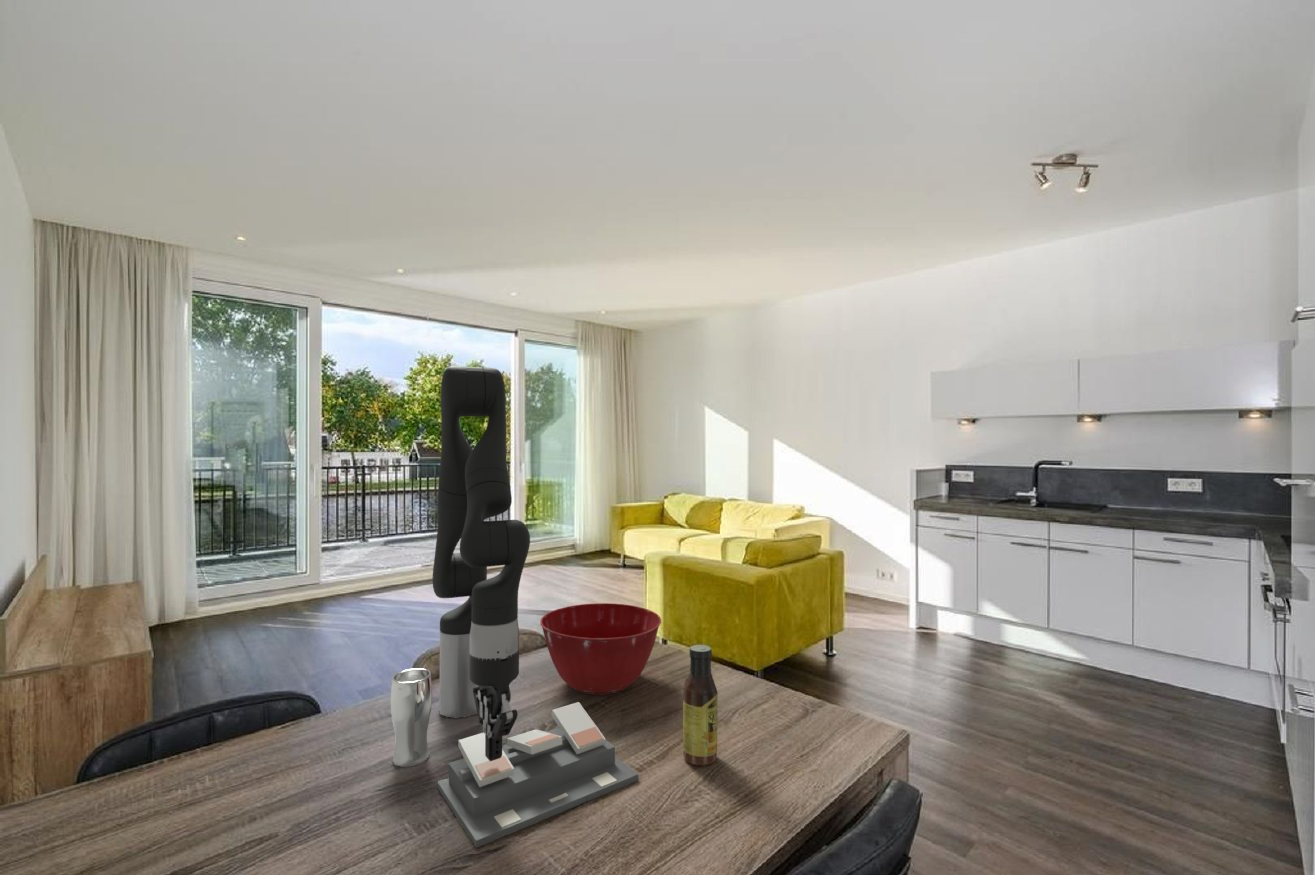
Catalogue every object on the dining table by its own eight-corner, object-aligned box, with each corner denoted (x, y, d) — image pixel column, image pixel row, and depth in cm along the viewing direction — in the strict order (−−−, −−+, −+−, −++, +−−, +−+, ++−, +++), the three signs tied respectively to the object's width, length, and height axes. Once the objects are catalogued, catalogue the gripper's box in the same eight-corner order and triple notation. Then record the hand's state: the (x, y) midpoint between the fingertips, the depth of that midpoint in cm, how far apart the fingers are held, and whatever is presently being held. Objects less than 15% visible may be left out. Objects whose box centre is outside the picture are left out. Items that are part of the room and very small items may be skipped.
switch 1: (458, 746, 98) (458, 739, 98) (490, 736, 102) (490, 729, 101) (479, 787, 90) (480, 779, 90) (513, 775, 94) (514, 768, 94)
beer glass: (440, 753, 109) (440, 671, 109) (409, 772, 103) (410, 686, 103) (412, 745, 112) (412, 665, 112) (381, 763, 105) (381, 678, 106)
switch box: (437, 787, 98) (437, 756, 98) (584, 737, 115) (584, 710, 115) (476, 848, 84) (476, 811, 84) (638, 780, 101) (638, 749, 101)
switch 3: (551, 715, 108) (552, 709, 108) (577, 707, 112) (578, 701, 111) (576, 754, 101) (578, 748, 101) (604, 744, 104) (605, 738, 104)
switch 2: (507, 746, 103) (506, 737, 103) (536, 736, 106) (536, 728, 107) (531, 754, 95) (530, 746, 96) (562, 744, 99) (561, 736, 99)
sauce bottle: (715, 770, 104) (715, 656, 104) (680, 766, 105) (680, 653, 105) (719, 750, 110) (719, 643, 110) (685, 747, 112) (686, 641, 112)
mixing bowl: (611, 652, 161) (611, 595, 161) (685, 685, 140) (686, 619, 140) (517, 681, 142) (517, 616, 142) (587, 723, 121) (588, 647, 121)
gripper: (456, 640, 96) (455, 747, 96) (487, 666, 86) (486, 786, 86) (500, 631, 101) (500, 733, 101) (535, 655, 90) (534, 769, 90)
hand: (493, 757), depth 93 cm, fingers closed
